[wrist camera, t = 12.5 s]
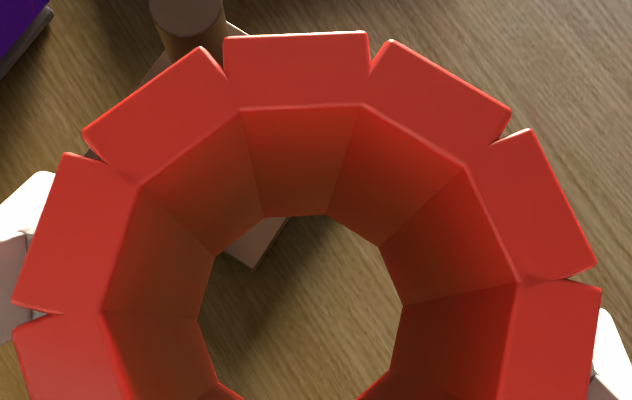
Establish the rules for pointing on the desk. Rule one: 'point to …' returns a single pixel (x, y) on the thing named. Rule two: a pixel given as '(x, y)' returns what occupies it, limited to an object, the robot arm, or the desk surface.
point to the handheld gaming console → (20, 28)
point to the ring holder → (209, 32)
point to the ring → (303, 200)
